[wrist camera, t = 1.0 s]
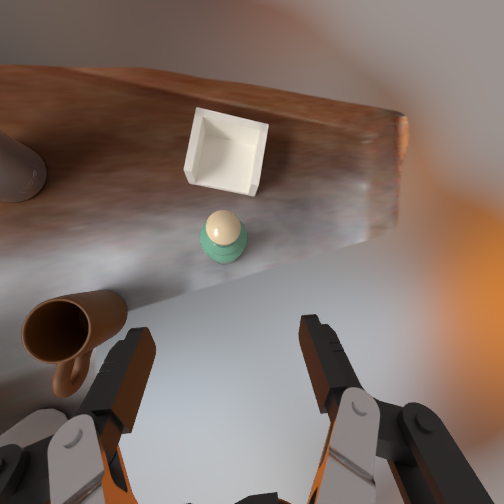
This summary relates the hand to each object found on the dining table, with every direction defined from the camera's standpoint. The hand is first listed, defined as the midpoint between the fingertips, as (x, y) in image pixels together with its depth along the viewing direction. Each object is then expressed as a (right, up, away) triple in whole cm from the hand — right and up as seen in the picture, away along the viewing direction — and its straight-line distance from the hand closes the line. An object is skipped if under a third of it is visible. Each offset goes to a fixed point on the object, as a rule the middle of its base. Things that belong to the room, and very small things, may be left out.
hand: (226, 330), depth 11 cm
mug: (-22, -8, +22) cm, 32 cm away
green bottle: (-3, +5, +25) cm, 26 cm away
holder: (-3, +19, +26) cm, 33 cm away
